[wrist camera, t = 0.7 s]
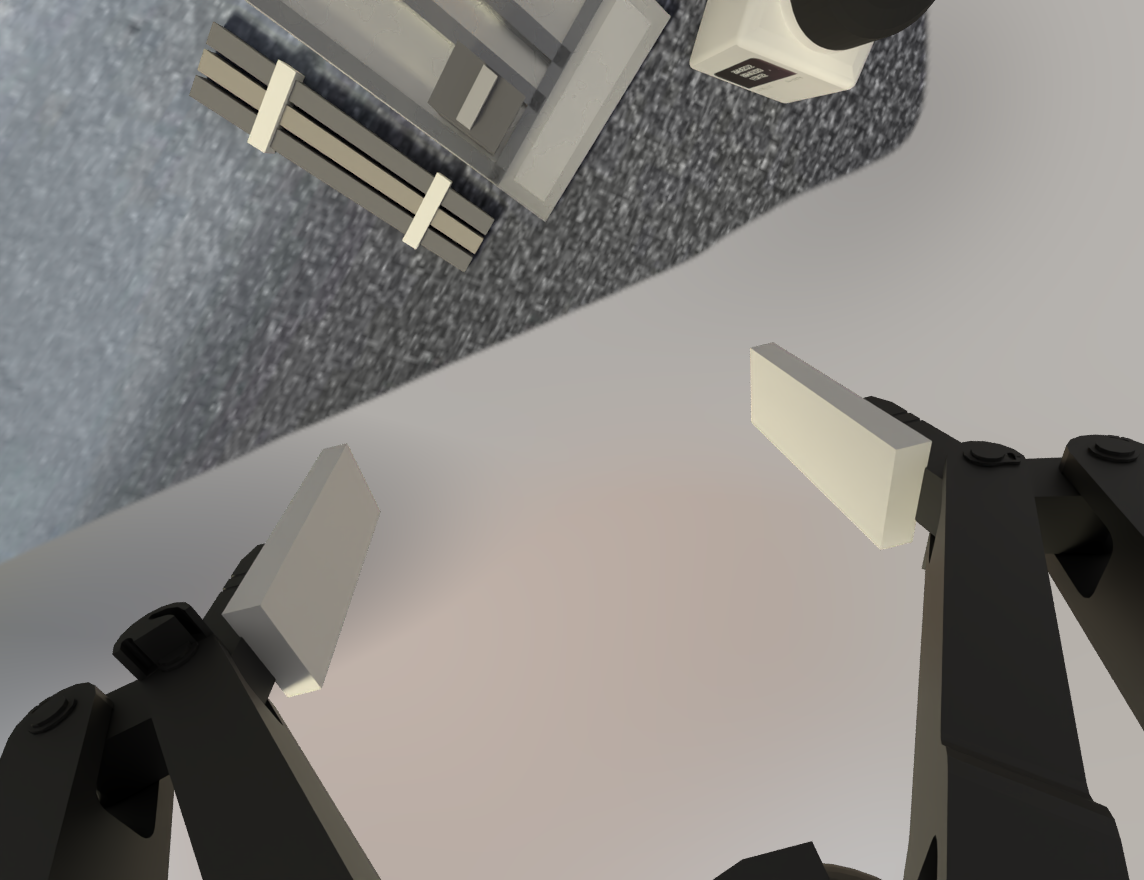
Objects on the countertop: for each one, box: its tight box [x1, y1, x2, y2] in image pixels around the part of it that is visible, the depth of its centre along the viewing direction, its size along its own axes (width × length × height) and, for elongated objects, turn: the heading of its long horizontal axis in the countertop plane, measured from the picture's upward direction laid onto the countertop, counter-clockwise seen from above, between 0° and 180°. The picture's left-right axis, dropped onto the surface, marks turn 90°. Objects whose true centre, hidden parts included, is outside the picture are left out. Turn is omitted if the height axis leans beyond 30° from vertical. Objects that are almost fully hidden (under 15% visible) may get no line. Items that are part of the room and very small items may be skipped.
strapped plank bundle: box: [189, 22, 494, 272], centre depth 32 cm, size 18×5×2 cm, turn 55°
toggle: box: [427, 40, 525, 156], centre depth 28 cm, size 4×3×7 cm
